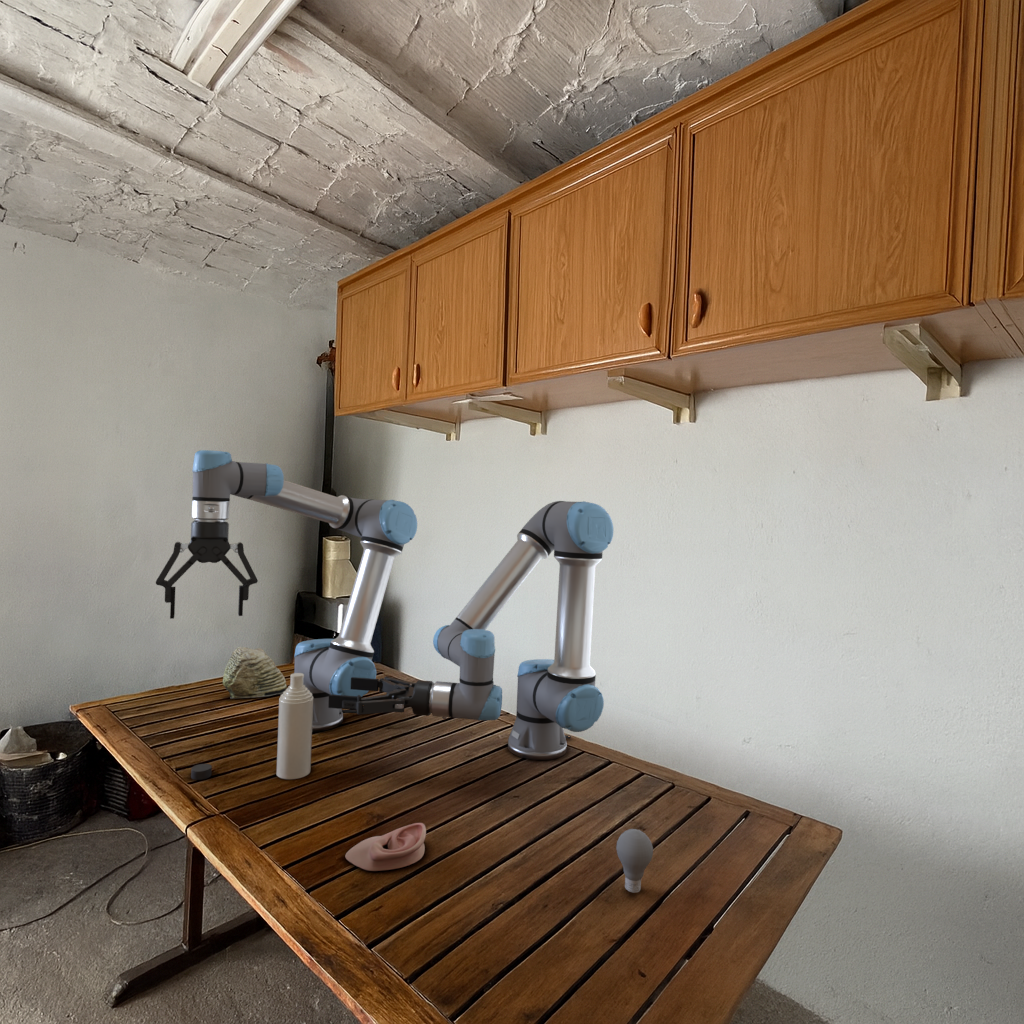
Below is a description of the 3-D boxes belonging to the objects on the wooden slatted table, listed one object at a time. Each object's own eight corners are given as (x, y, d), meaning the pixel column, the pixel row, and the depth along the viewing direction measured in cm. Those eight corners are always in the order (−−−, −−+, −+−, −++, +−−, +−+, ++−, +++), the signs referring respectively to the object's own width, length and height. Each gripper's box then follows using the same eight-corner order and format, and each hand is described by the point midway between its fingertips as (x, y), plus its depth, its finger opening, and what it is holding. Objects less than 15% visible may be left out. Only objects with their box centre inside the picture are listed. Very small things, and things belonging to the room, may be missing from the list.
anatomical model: (337, 842, 109) (366, 811, 120) (336, 865, 109) (365, 832, 120) (410, 854, 106) (432, 821, 117) (409, 878, 106) (432, 842, 118)
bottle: (274, 780, 140) (278, 679, 140) (278, 766, 148) (281, 670, 147) (309, 778, 142) (313, 678, 142) (311, 764, 149) (315, 669, 149)
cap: (215, 773, 142) (216, 765, 142) (202, 781, 138) (202, 772, 138) (200, 770, 144) (200, 762, 144) (186, 778, 140) (186, 769, 140)
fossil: (218, 695, 195) (220, 647, 195) (278, 685, 208) (279, 640, 207) (228, 703, 189) (230, 653, 188) (289, 692, 201) (290, 645, 201)
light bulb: (610, 879, 108) (613, 822, 108) (644, 879, 109) (647, 822, 109) (619, 902, 102) (622, 840, 102) (655, 901, 103) (658, 840, 103)
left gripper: (144, 519, 131) (140, 621, 132) (272, 522, 142) (268, 616, 143) (146, 518, 138) (143, 615, 138) (268, 521, 149) (265, 611, 149)
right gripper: (418, 735, 129) (318, 727, 131) (443, 698, 154) (358, 691, 156) (419, 699, 129) (319, 691, 131) (444, 667, 154) (359, 661, 156)
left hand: (207, 616), depth 140 cm, fingers open, 13 cm apart
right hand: (340, 691), depth 144 cm, fingers open, 13 cm apart
